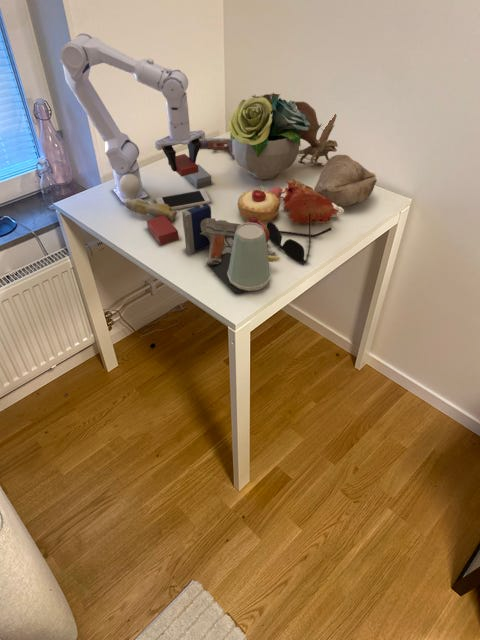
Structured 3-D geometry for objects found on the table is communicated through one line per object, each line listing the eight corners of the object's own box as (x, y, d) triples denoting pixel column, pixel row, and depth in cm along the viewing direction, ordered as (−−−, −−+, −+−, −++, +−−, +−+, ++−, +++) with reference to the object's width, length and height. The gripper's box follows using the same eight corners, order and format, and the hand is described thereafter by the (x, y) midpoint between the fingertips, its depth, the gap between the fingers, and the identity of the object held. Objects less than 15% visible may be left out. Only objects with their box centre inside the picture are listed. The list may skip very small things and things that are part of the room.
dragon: (314, 164, 148) (321, 98, 143) (266, 162, 168) (270, 103, 162) (353, 167, 157) (361, 105, 152) (303, 165, 177) (308, 109, 171)
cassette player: (208, 240, 133) (206, 201, 124) (213, 244, 131) (211, 205, 123) (185, 250, 130) (180, 210, 121) (189, 254, 128) (185, 214, 120)
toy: (265, 240, 131) (258, 241, 131) (279, 255, 126) (271, 256, 125) (264, 244, 132) (257, 245, 131) (278, 259, 126) (271, 260, 126)
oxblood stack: (147, 229, 137) (146, 220, 135) (166, 223, 139) (164, 214, 137) (160, 245, 131) (158, 236, 129) (179, 239, 133) (178, 230, 131)
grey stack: (184, 176, 160) (184, 167, 157) (199, 172, 161) (198, 164, 159) (197, 188, 154) (196, 179, 152) (211, 184, 156) (211, 175, 153)
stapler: (307, 194, 144) (303, 199, 144) (307, 185, 139) (303, 189, 139) (343, 218, 140) (339, 222, 140) (344, 209, 135) (340, 213, 135)
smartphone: (155, 200, 148) (155, 197, 148) (204, 191, 152) (204, 189, 151) (160, 212, 143) (160, 209, 143) (210, 203, 147) (210, 200, 146)
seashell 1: (276, 202, 126) (335, 194, 122) (275, 165, 128) (333, 156, 125) (288, 230, 142) (340, 223, 138) (286, 196, 144) (338, 189, 141)
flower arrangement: (254, 150, 172) (255, 77, 155) (316, 169, 162) (324, 92, 145) (211, 178, 158) (206, 100, 141) (276, 201, 147) (279, 119, 130)
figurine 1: (179, 208, 142) (131, 193, 142) (176, 205, 136) (125, 189, 137) (174, 225, 142) (126, 210, 143) (170, 223, 137) (120, 207, 137)
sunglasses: (341, 250, 130) (344, 234, 127) (299, 266, 124) (301, 250, 121) (302, 220, 140) (304, 204, 136) (261, 234, 134) (262, 218, 130)
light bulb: (117, 209, 143) (114, 174, 138) (128, 204, 148) (126, 171, 143) (134, 212, 142) (132, 177, 137) (145, 207, 146) (143, 173, 142)
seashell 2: (392, 177, 140) (359, 139, 135) (358, 222, 138) (323, 185, 133) (361, 184, 154) (330, 150, 149) (330, 224, 153) (298, 191, 148)
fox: (227, 254, 120) (229, 247, 120) (240, 267, 128) (241, 260, 128) (273, 256, 115) (275, 249, 115) (284, 269, 123) (285, 262, 123)
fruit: (245, 261, 126) (245, 228, 119) (233, 245, 131) (232, 212, 124) (273, 254, 128) (275, 221, 121) (260, 238, 133) (261, 205, 126)
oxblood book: (168, 164, 144) (167, 158, 143) (185, 160, 146) (184, 153, 145) (181, 176, 138) (180, 170, 137) (198, 172, 140) (198, 165, 139)
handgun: (192, 158, 168) (196, 145, 177) (248, 158, 168) (249, 145, 177) (191, 149, 166) (196, 136, 175) (248, 150, 165) (249, 136, 174)
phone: (236, 292, 116) (204, 260, 125) (236, 295, 116) (204, 263, 125) (261, 281, 118) (229, 251, 128) (261, 284, 119) (229, 253, 128)
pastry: (232, 221, 139) (231, 193, 133) (245, 201, 147) (245, 174, 141) (272, 229, 136) (273, 201, 130) (284, 208, 144) (285, 180, 138)
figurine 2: (295, 217, 143) (306, 198, 145) (293, 210, 140) (304, 191, 142) (260, 205, 148) (271, 188, 150) (257, 199, 145) (269, 180, 147)
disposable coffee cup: (218, 225, 110) (219, 273, 121) (242, 252, 104) (241, 301, 115) (258, 211, 114) (255, 260, 125) (284, 237, 108) (278, 285, 119)
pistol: (210, 262, 120) (203, 215, 121) (204, 265, 122) (197, 218, 123) (260, 265, 134) (254, 223, 135) (254, 267, 135) (248, 226, 136)
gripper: (159, 131, 128) (165, 179, 137) (209, 120, 133) (211, 167, 142) (149, 122, 132) (156, 169, 141) (197, 111, 137) (200, 157, 147)
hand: (183, 167), depth 142 cm, fingers closed on oxblood book, 5 cm apart
